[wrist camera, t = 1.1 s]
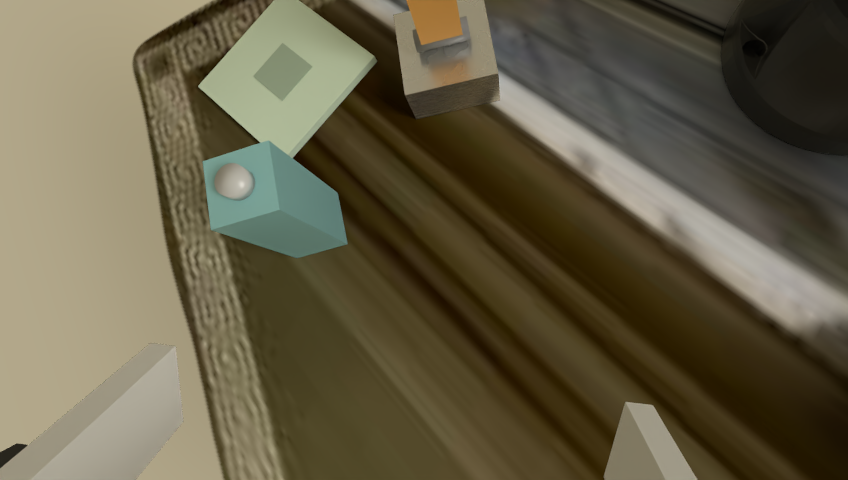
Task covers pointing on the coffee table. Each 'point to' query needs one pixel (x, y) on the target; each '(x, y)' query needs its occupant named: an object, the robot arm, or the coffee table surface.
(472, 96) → the box
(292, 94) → the pad
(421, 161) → the coffee table surface
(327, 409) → the coffee table surface
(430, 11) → the lever
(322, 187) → the teal tall block
